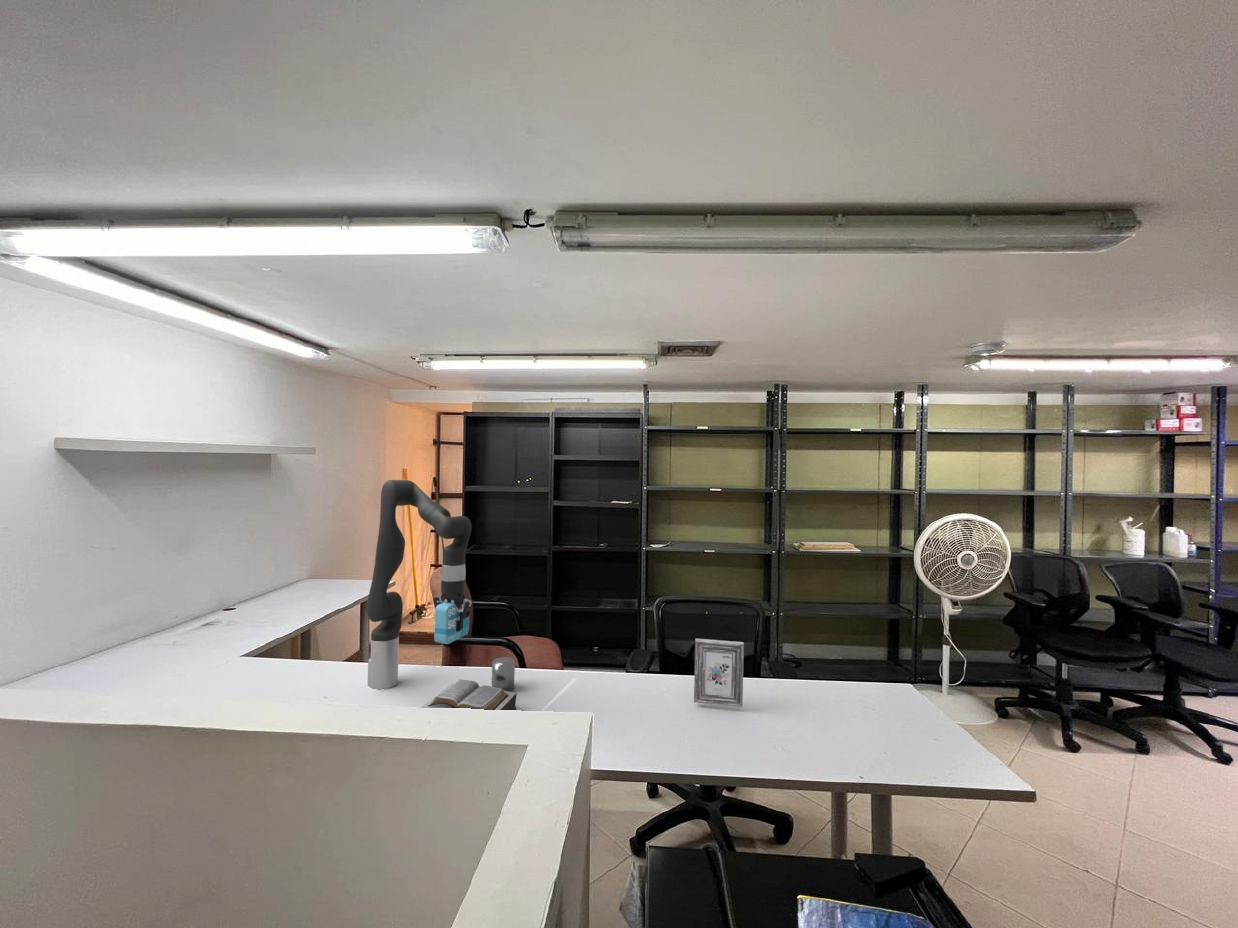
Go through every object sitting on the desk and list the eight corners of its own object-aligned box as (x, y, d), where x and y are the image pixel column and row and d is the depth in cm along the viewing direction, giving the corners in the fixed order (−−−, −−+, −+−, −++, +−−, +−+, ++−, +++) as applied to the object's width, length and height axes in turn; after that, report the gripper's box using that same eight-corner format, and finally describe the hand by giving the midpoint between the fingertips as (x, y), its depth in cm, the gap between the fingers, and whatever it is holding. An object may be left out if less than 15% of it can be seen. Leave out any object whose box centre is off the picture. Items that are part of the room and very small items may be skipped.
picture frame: (693, 702, 170) (695, 640, 170) (693, 699, 172) (695, 638, 172) (742, 707, 167) (744, 644, 167) (742, 704, 170) (743, 641, 170)
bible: (462, 696, 171) (462, 668, 171) (525, 714, 160) (526, 684, 160) (408, 727, 150) (409, 695, 150) (477, 751, 139) (478, 716, 139)
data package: (445, 645, 153) (446, 607, 153) (433, 643, 154) (434, 605, 154) (469, 633, 164) (470, 597, 164) (458, 631, 166) (459, 596, 166)
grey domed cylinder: (487, 691, 174) (487, 663, 174) (499, 682, 182) (499, 655, 182) (507, 695, 172) (507, 666, 172) (518, 685, 180) (518, 658, 180)
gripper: (427, 578, 158) (425, 630, 158) (465, 582, 154) (464, 636, 153) (442, 573, 165) (440, 623, 165) (479, 577, 161) (477, 629, 161)
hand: (452, 629), depth 159 cm, fingers closed on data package, 4 cm apart
